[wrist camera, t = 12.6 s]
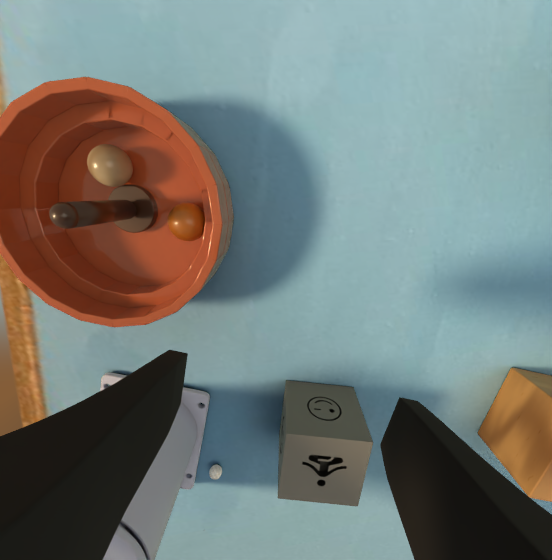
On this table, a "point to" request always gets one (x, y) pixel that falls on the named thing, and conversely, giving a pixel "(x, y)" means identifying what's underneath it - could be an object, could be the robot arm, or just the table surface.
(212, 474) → the sphere
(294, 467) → the dice cube
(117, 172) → the cream bead
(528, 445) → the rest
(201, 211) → the amber bead
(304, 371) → the table surface
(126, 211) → the brown peg
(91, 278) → the bowl
